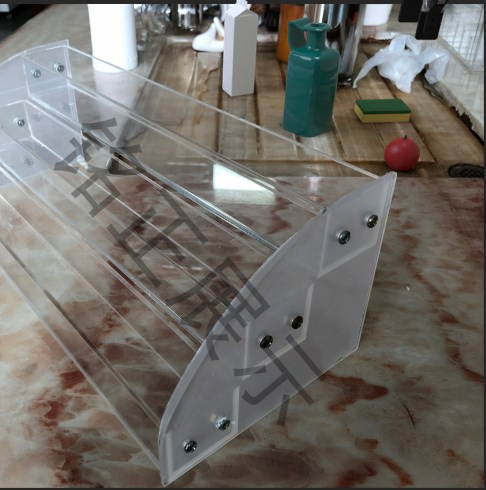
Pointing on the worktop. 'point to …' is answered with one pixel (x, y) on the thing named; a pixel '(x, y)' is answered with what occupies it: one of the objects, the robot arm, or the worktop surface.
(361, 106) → the sponge
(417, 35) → the robot arm
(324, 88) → the pitcher
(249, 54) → the milk
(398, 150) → the apple
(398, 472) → the worktop surface
